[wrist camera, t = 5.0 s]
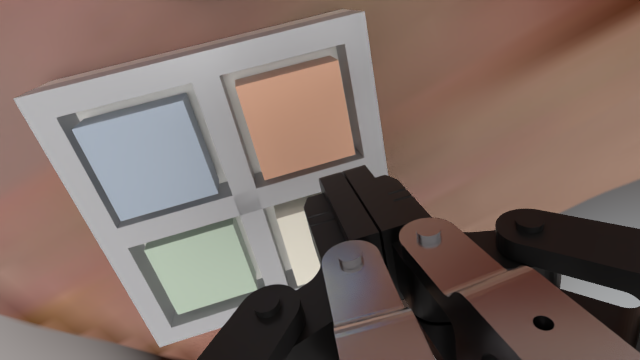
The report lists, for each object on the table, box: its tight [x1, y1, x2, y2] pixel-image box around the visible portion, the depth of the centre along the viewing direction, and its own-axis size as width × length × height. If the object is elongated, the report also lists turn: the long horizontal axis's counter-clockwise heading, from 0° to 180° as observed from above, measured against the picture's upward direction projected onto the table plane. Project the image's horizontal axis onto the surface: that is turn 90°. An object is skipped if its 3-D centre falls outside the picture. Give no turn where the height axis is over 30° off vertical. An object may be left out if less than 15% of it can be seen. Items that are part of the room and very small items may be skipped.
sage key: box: [144, 217, 258, 315], centre depth 23 cm, size 5×5×2 cm
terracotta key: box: [235, 56, 355, 180], centre depth 20 cm, size 5×5×2 cm
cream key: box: [274, 192, 322, 286], centre depth 23 cm, size 5×5×2 cm
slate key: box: [71, 93, 219, 221], centre depth 19 cm, size 5×5×2 cm
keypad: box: [14, 9, 388, 347], centre depth 23 cm, size 16×16×4 cm
